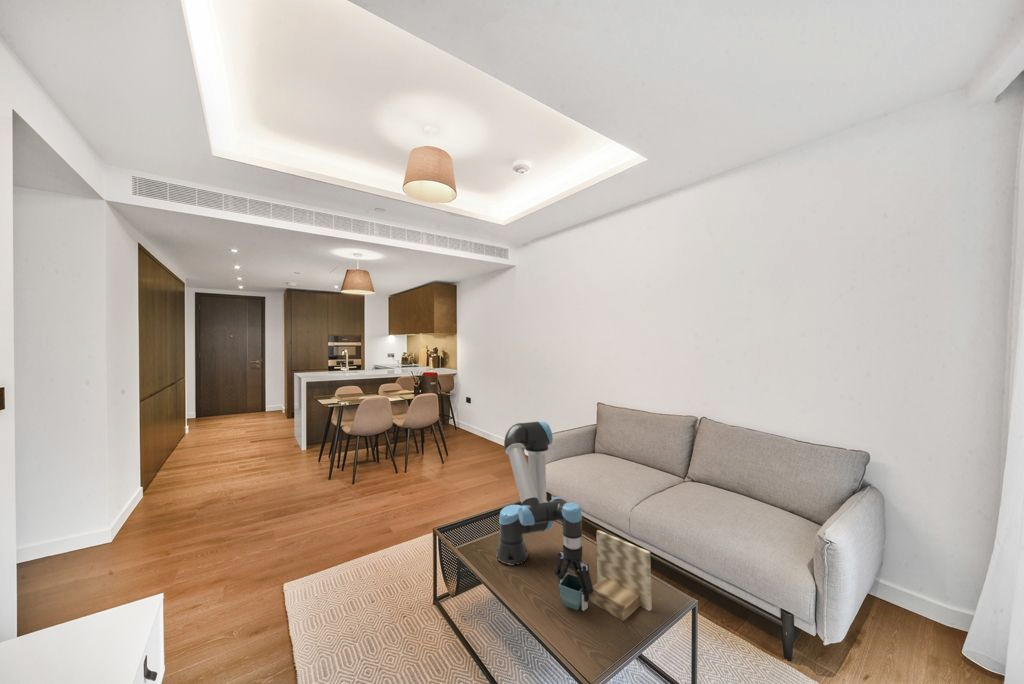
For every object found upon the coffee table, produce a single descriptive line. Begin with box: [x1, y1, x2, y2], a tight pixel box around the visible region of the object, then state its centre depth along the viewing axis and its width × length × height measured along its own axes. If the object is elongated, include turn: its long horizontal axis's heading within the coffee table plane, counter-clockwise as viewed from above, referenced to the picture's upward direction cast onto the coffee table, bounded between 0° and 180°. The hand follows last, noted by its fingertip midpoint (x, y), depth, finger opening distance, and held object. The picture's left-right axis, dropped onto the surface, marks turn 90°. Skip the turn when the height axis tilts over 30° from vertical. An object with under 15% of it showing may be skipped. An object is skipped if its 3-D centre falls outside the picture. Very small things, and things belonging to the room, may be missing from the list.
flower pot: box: [558, 572, 583, 611], centre depth 145 cm, size 9×9×9 cm
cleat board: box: [588, 529, 653, 622], centre depth 147 cm, size 24×14×22 cm, turn 42°
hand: (573, 601), depth 145 cm, fingers open, 10 cm apart
